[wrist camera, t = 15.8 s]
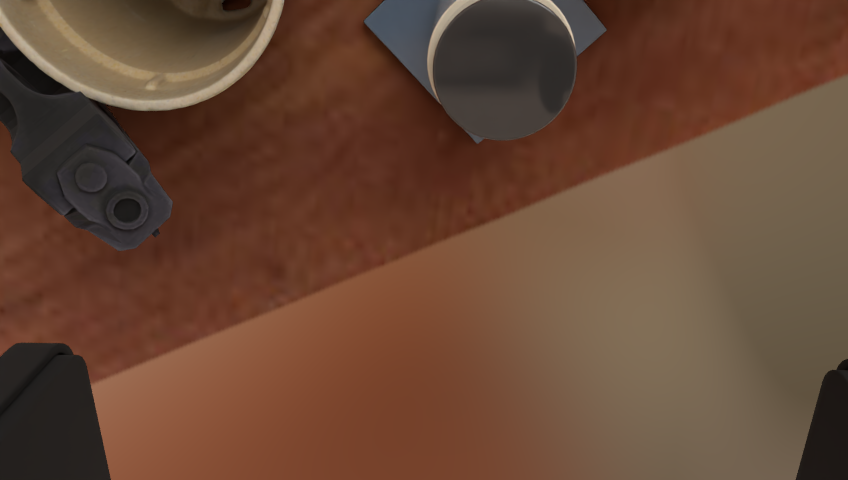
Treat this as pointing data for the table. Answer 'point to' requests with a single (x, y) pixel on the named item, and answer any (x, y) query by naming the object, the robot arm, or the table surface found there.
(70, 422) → the robot arm
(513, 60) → the spice bottle
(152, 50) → the flower pot
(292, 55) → the table surface
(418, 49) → the coaster
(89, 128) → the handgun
